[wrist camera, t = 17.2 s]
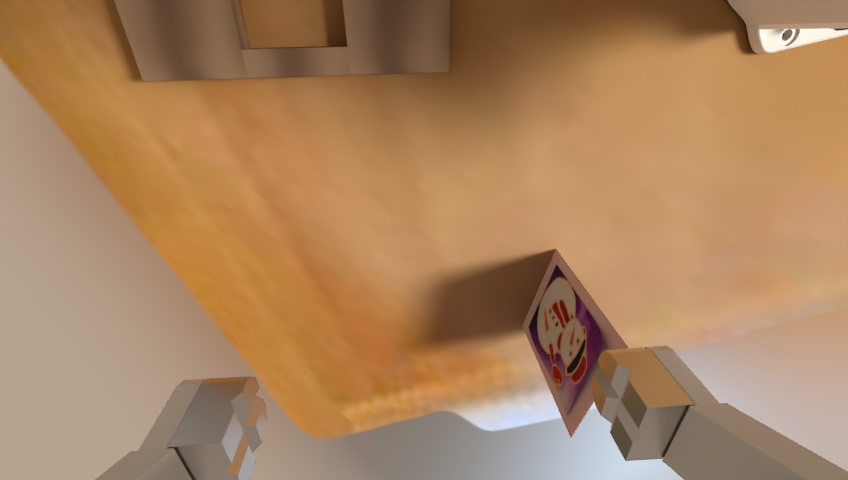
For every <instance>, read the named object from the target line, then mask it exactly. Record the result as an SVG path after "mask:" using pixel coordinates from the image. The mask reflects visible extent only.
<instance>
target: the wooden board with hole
mask: <svg viewBox="0 0 848 480" xmlns="http://www.w3.org/2000/svg"><path fill="white" fill-rule="evenodd" d="M342 1H343V10H344V20H345V29H346V39H347V46H322V47H283V48H250V45H249V41H248V36H247V32H246V27H245V23H244V18H243V14H242V9H241V4H240V0H114V2H115V4H116V7H117V10H118V13H119V16H120V18H121V21H122V24H123V27H124V30H125V32H126V35H127V38H128V41H129V44H130V46H131V49H132V52H133V55H134V57H135V60H136V63H137V66H138V69H139V71H140V74H141V77H142V80H143V81H167V80H200V79H234V78H267V77H300V76H334V75H367V74H400V73H434V72H450V1H451V0H342Z"/></svg>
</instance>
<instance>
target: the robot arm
mask: <svg viewBox="0 0 848 480" xmlns="http://www.w3.org/2000/svg"><path fill="white" fill-rule="evenodd" d="M727 1H728V2H729V4H730V5H731V7H732V8H733V9H734V10H735V11H736V12H737V13H738V14H739V15H740V17H741V18H742V19H743V20H744V22H745V24H746V27H747V33H748V38H749V42H750V45H751V48H752V50H753V51H754V52H755V53H758V54H765V53H774V52H778V51H782V50H787V49H791V48H795V47H799V46H803V45H807V44H812V43H816V42H820V41H824V40H828V39H833V38H837V37H841V36H845V35H848V0H727ZM784 32H785V34H784V36H783V38H782V35H783V33H784ZM598 364H599V365H600V367H601V369H600V370H599V371H598V372H597V373H596V374H594V376H593V380H592V395H593V399H594V402H595V405H596V407H597V409H598V411H599V413H600V415H601V416H603V417H604V418H605V419H607V420H608V421H609V422H611V423H612V426H611V431H610V433H611V435H612V437H613V439H614V441H615V443H616V444H617V446H618V448H619V450H620V452H621V453H622V455H623V457H624V459H625V461H630V460H647V459H663V460H662V461H663V462H664V463H666V464H667V465H668V466H669V467H670V468H672V469H673V470H674V471H675V472H676V473H677V474H678V475H679V476H681V477H682V478H683V479H684V480H848V472H847V471H845V470H843V469H842V468H840V467H838V466H836V465H835V464H833V463H831V462H829V461H828V460H826V459H824V458H822V457H821V456H819V455H817V454H815V453H813V452H812V451H810V450H808V449H806V448H804V447H803V446H801V445H799V444H798V443H796V442H794V441H792V440H790V439H789V438H787V437H785V436H783V435H782V434H780V433H778V432H776V431H775V430H773V429H771V428H769V427H768V426H766V425H764V424H762V423H760V422H759V421H757V420H755V419H753V418H752V417H750V416H748V415H746V414H745V413H743V412H741V411H739V410H738V409H736V408H734V407H732V406H730V405H729V404H727V403H719V402H718V401H717V400H716V399H715V398H714V396H713V395H712V394H711V393H710V392H709V391H708V390H707V388H706V387H705V386H704V385H703V384H702V383H701V381H700V380H699V379H698V378H697V377H696V376H695V375H694V374H693V372H692V371H691V370H690V369H689V368H688V367H687V365H686V364H685V363H684V362H683V361H682V360H681V359H680V357H678V355H677V354H676V353H675V352H674V351H673V350H672V349H671V348H669V347H667V346H657V347H645V348H642V347H641V348H629V349H617V350H605V351H603V352H602V353H601V354H600V356H599V359H598ZM258 389H259V385H258V382H257V380H256V378H255V377H233V378H211V379H196V380H184V381H182V382H181V383H180V384H179V385H178V386H177V387H176V389H175V390H174V392H173V394H172V395H171V397H170V398H169V400H168V402H167V403H166V405H165V407H164V408H163V410H162V412H161V413H160V415H159V417H158V418H157V420H156V422H155V424H154V425H153V427H152V429H151V430H150V432H149V434H148V435H147V437H146V439H145V440H144V442H143V444H142V445H141V447H140V449H139V450H138V451H132V452H130V453H128V454H127V455H126V456H124V457H123V458H122V459H121V460H119V461H118V462H117V463H115V464H114V465H113V466H112V467H110V468H109V469H108V470H107V471H105V472H104V473H103V474H102V475H100V476H99V477H98V478H96V479H95V480H251V476H252V473H253V470H254V467H255V464H256V462H255V459H254V457H253V454H252V453H253V451H254V450H256V448H257V447H258V446H259V445H260V444H261V443H262V441H263V438H264V434H265V431H266V422H267V411H266V405H265V402H264V400H263V399H261V398H260V397H259V396H257V392H258Z"/></svg>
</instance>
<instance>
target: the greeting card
mask: <svg viewBox="0 0 848 480" xmlns="http://www.w3.org/2000/svg"><path fill="white" fill-rule="evenodd" d="M522 326H523V328H524V331H525V333H526V335H527V338H528V340H529V342H530V344H531V347H532V349H533V351H534V354H535V356H536V358H537V361H538V363H539V365H540V368H541V370H542V372H543V375H544V377H545V379H546V381H547V384H548V386H549V388H550V391H551V393H552V395H553V398H554V400H555V402H556V405H557V407H558V409H559V412H560V414H561V416H562V418H563V421H564V423H565V425H566V428H567V430H568V432H569V435H570V437H572V436H573V434H574V433H575V431H576V429H577V428H578V426H579V425H580V423H581V422H582V420H583V418H584V417H585V415H586V414H587V412H588V410H589V409H590V407H591V406H592V404H593V403H594V399H593V395H592V380H593V376H594V374H596V373H597V372H598V371H599V370H600V369H601V367H600V365H599V364H598V359H599V356H600V354H601V353H602V352H603V351H605V350H617V349H628V347H627V345H626V344H625V343H624V341H623V340H622V338H621V337H620V336H619V334H618V333H617V332H616V330H615V329H614V328H613V326H612V325H611V323H610V322H609V321H608V319H607V318H606V317H605V315H604V314H603V312H602V311H601V310H600V308H599V307H598V306H597V304H596V303H595V302H594V300H593V299H592V297H591V296H590V295H589V293H588V292H587V291H586V289H585V288H584V287H583V285H582V284H581V282H580V281H579V280H578V278H577V277H576V276H575V274H574V273H573V271H572V270H571V269H570V267H569V266H568V265H567V263H566V262H565V261H564V259H563V258H562V256H561V255H560V254H559V252H558V251H557V250H555V252H554V254H553V256H552V259H551V261H550V263H549V266H548V268H547V270H546V273H545V275H544V277H543V279H542V282H541V284H540V286H539V289H538V291H537V293H536V296H535V298H534V300H533V302H532V305H531V307H530V309H529V312H528V314H527V316H526V318H525V321H524V323H523V325H522Z"/></svg>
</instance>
